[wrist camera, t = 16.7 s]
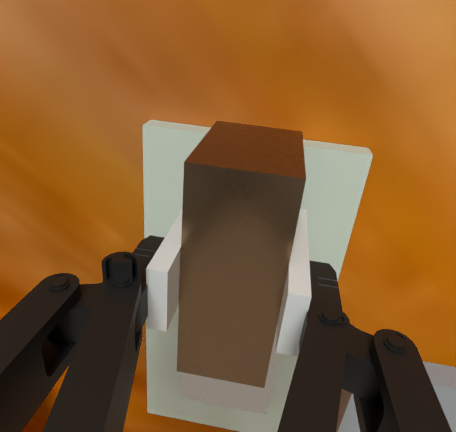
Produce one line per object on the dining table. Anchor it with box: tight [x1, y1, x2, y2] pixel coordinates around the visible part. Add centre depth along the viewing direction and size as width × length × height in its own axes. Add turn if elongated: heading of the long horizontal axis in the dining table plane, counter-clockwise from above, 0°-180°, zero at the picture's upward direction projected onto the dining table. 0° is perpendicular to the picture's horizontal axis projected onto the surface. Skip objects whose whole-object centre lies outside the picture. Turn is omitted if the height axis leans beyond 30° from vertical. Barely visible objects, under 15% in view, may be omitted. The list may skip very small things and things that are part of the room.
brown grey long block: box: [177, 121, 306, 414], centre depth 19 cm, size 19×6×6 cm, turn 175°
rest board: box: [143, 120, 373, 432], centre depth 23 cm, size 11×22×1 cm, turn 175°
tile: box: [336, 361, 456, 432], centre depth 26 cm, size 8×2×10 cm
